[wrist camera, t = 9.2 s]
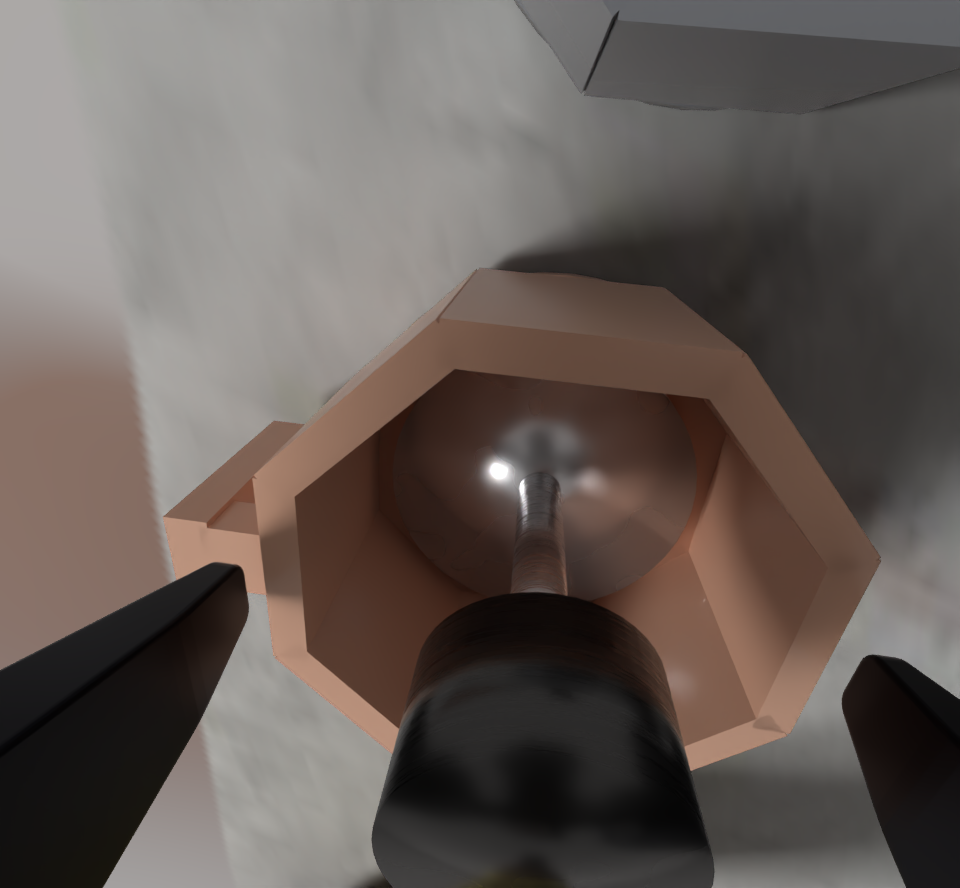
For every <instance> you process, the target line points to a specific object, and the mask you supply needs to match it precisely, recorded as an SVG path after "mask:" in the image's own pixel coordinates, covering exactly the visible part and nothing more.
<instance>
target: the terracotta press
mask: <svg viewBox="0 0 960 888" xmlns="http://www.w3.org/2000/svg"><path fill="white" fill-rule="evenodd" d="M454 369H458V370H467V371H475V372H484V373H493V374H501V375H510V376H518V377H527V378H535V379H544V380H552V381H561V382H569V383H578V384H586V385H595V386H603V387H612V388H621V389H629V390H638V391H646V392H655V393H663V394H666V395H667V396H668V397H669V399H670V400H671V402H672V404H673V405H674V407H675V409H676V410H677V412H678V413H679V415H680V417H681V418H682V420H683V422H684V424H685V426H686V429H687V431H688V433H689V436H690V438H691V441H692V445H693V449H694V453H695V457H696V468H697V484H696V495H695V499H694V503H693V508H692V511H691V514H690V516H689V519H688V521H687V524H686V526H685V528H684V530H683V532H682V533H681V535H680V537H679V539H678V540H677V542H676V543H675V545H674V546H673V547H672V549H671V550H670V551H669V552H668V554H667V555H666V556H665V557H664V558H663V559H662V560H661V561H660V562H659V563H658V564H657V565H656V566H655V567H654V568H653V569H652V570H650V571H649V572H648V573H646V574H645V575H644V576H642V577H641V578H640V579H638V580H637V581H635V582H633V583H632V584H630V585H628V586H627V587H625V588H623V589H621V590H618V591H616V592H614V593H612V594H610V595H607V596H604V597H601V598H598V599H595V600H592V601H589V602H592V603H595V604H597V605H599V606H602V607H604V608H606V609H609V610H610V611H612V612H614V613H616V614H617V615H619V616H621V617H623V618H624V619H625V620H627V621H628V622H630V623H631V624H632V625H634V626H635V627H636V628H637V629H638V630H639V631H640V632H641V633H642V634H643V635H644V636H645V637H646V638H647V639H648V640H649V641H650V643H651V644H652V645H653V647H654V648H655V649H656V651H657V653H658V655H659V657H660V659H661V660H662V663H663V666H664V669H665V672H666V676H667V680H668V684H669V688H670V692H671V696H672V700H673V704H674V708H675V711H676V715H677V719H678V723H679V727H680V731H681V735H682V739H683V743H684V747H685V751H686V755H687V759H688V763H689V766H690V770H691V771H692V770H694V769H697V768H700V767H703V766H705V765H708V764H711V763H714V762H716V761H719V760H722V759H725V758H728V757H730V756H733V755H736V754H739V753H741V752H744V751H747V750H750V749H752V748H755V747H758V746H761V745H763V744H766V743H769V742H772V741H774V740H777V739H780V738H783V737H785V736H787V734H790V733H791V731H792V729H793V727H794V725H795V723H796V721H797V720H798V718H799V716H800V714H801V712H802V710H803V708H804V706H805V704H806V702H807V701H808V699H809V697H810V695H811V693H812V691H813V689H814V687H815V685H816V684H817V682H818V680H819V678H820V676H821V674H822V672H823V670H824V668H825V666H826V665H827V663H828V661H829V659H830V657H831V655H832V653H833V651H834V649H835V648H836V646H837V644H838V642H839V640H840V638H841V636H842V634H843V632H844V631H845V629H846V627H847V625H848V623H849V621H850V619H851V617H852V615H853V613H854V612H855V610H856V608H857V606H858V604H859V602H860V600H861V598H862V596H863V595H864V593H865V591H866V589H867V587H868V585H869V583H870V581H871V579H872V577H873V576H874V574H875V572H876V570H877V568H878V566H879V564H880V562H881V561H880V559H879V558H881V557H880V555H879V554H878V552H877V551H876V549H875V548H874V546H873V545H872V543H871V542H870V540H869V539H868V537H867V536H866V534H865V533H864V531H863V530H862V528H861V527H860V525H859V523H858V522H857V520H856V519H855V517H854V516H853V514H852V513H851V511H850V510H849V508H848V507H847V505H846V504H845V502H844V501H843V499H842V498H841V496H840V495H839V493H838V491H837V490H836V488H835V487H834V485H833V484H832V482H831V481H830V479H829V478H828V476H827V475H826V473H825V472H824V470H823V469H822V467H821V466H820V464H819V463H818V461H817V459H816V458H815V456H814V455H813V453H812V452H811V450H810V449H809V447H808V446H807V444H806V443H805V441H804V440H803V438H802V437H801V435H800V434H799V432H798V431H797V429H796V427H795V426H794V424H793V423H792V421H791V420H790V418H789V417H788V415H787V414H786V412H785V411H784V409H783V408H782V406H781V405H780V403H779V402H778V400H777V399H776V397H775V396H774V394H773V392H772V391H771V389H770V388H769V386H768V385H767V383H766V382H765V380H764V379H763V377H762V376H761V374H760V373H759V371H758V370H757V368H756V367H755V365H754V364H753V362H752V360H751V359H750V357H749V356H748V354H746V353H745V352H744V351H743V350H741V349H740V348H739V347H738V346H736V345H735V344H734V343H733V342H732V341H730V340H729V339H728V338H727V337H725V336H724V335H723V334H722V333H720V332H719V331H718V330H717V329H715V328H714V327H713V326H712V325H710V324H709V323H708V322H707V321H706V320H704V319H703V318H702V317H701V316H699V315H698V314H697V313H696V312H694V311H693V310H692V309H691V308H689V307H688V306H687V305H686V304H684V303H683V302H682V301H681V300H680V299H678V298H677V297H676V296H675V295H673V294H672V293H671V292H670V291H668V290H667V289H665V288H664V287H655V286H646V285H636V284H627V283H618V282H608V281H605V280H602V279H599V278H595V277H589V276H583V275H578V274H572V273H555V272H536V273H523V272H514V271H504V270H495V269H485V268H479V269H478V270H477V269H476V270H475V271H474V272H472V273H471V274H470V275H469V276H468V277H467V278H466V279H464V280H463V281H462V282H461V283H460V284H459V285H458V286H456V287H455V288H454V289H453V290H452V291H451V292H449V293H448V294H447V295H446V296H445V297H444V298H443V299H441V300H440V301H439V302H438V303H437V304H436V305H435V306H433V307H432V308H431V309H430V310H429V311H428V312H426V313H425V314H424V315H422V316H421V317H420V318H418V319H417V320H416V321H415V322H414V323H413V324H412V325H411V326H410V327H409V328H408V329H407V330H406V331H405V332H404V333H402V334H401V335H400V336H399V337H398V338H397V339H395V340H394V341H393V342H392V343H391V344H390V345H389V346H387V347H386V348H385V349H384V350H383V351H382V352H381V353H379V354H378V355H377V356H376V357H375V358H374V359H372V360H371V361H370V362H369V363H368V364H367V365H366V366H364V367H363V368H362V369H361V370H360V371H359V372H358V373H356V374H355V375H354V376H353V377H352V378H351V379H350V380H349V381H348V382H347V383H346V384H345V385H344V386H343V387H342V388H341V389H340V390H339V391H338V392H337V393H336V394H335V395H334V396H333V397H332V398H331V399H330V400H329V401H328V402H327V403H326V404H325V405H324V406H323V407H322V408H321V409H320V410H319V411H318V412H317V413H316V414H315V415H314V416H313V417H312V418H311V419H310V420H309V421H308V422H307V423H306V424H305V425H304V424H296V423H288V422H280V421H273V422H272V423H271V424H270V425H269V426H267V427H266V428H265V429H264V430H263V431H262V432H260V433H259V434H258V435H257V436H256V437H255V438H254V439H252V440H251V441H250V442H249V443H248V444H247V445H245V446H244V447H243V448H242V449H241V450H240V451H239V452H237V453H236V454H235V455H234V456H233V457H232V458H230V459H229V460H228V461H227V462H226V463H225V464H223V465H222V466H221V467H220V468H219V469H218V470H217V471H215V472H214V473H213V474H212V475H211V476H210V477H208V478H207V479H206V480H205V481H204V482H203V483H202V484H200V485H199V486H198V487H197V488H196V489H195V490H193V491H192V492H191V493H190V494H189V495H188V496H186V497H185V498H184V499H183V500H182V501H181V502H180V503H178V504H177V505H176V506H175V507H174V508H173V509H171V510H170V511H169V512H168V513H167V514H166V515H165V516H163V519H164V524H165V529H166V533H167V538H168V543H169V548H170V552H171V557H172V562H173V566H174V571H175V576H176V580H178V579H180V578H182V577H184V576H186V575H187V574H189V573H191V572H193V571H195V570H197V569H199V568H201V567H203V566H205V565H207V564H209V563H212V562H223V563H230V564H237V565H239V566H241V567H242V569H243V571H244V575H245V582H246V589H247V592H249V593H256V594H263V595H266V597H267V605H268V614H269V622H270V631H271V639H272V647H273V656H276V657H275V659H277V660H278V661H279V662H280V663H282V664H283V665H284V666H285V667H286V668H288V669H289V670H290V671H291V672H293V673H294V674H295V675H296V676H297V677H299V678H300V679H301V680H302V681H304V682H305V683H306V684H307V685H308V686H310V687H311V688H312V689H313V690H315V691H316V692H317V693H318V694H319V695H321V696H322V697H323V698H324V699H326V700H327V701H328V702H329V703H330V704H332V705H333V706H334V707H335V708H337V709H338V710H339V711H340V712H341V713H343V714H344V715H345V716H346V717H348V718H349V719H350V720H351V721H352V722H354V723H355V724H356V725H357V726H359V727H360V728H361V729H362V730H363V731H365V732H366V733H367V734H368V735H370V736H371V737H372V738H373V739H374V740H376V741H377V742H378V743H379V744H381V745H382V746H383V747H384V748H385V749H387V750H388V751H389V752H390V753H392V754H393V750H394V746H395V742H396V739H397V735H398V731H399V727H400V723H401V720H402V716H403V712H404V708H405V705H406V701H407V697H408V693H409V690H410V686H411V682H412V678H413V674H414V671H415V667H416V663H417V659H418V656H419V653H420V650H421V648H422V646H423V644H424V642H425V641H426V639H427V637H428V636H429V635H430V634H431V632H432V631H433V630H434V629H435V627H436V626H438V625H439V624H440V623H441V622H442V621H443V620H444V619H445V618H447V617H448V616H450V615H451V614H453V613H454V612H456V611H457V610H459V609H461V608H463V607H465V606H467V605H469V604H471V603H474V602H477V601H480V600H483V599H485V598H489V597H488V596H486V595H483V594H481V593H478V592H476V591H474V590H471V589H470V588H468V587H466V586H464V585H462V584H460V583H459V582H457V581H455V580H454V579H453V578H451V577H450V576H448V575H447V574H445V573H444V572H443V571H442V570H440V569H439V568H438V567H437V566H436V565H435V564H434V563H432V562H431V561H430V560H429V559H428V557H427V556H426V555H425V554H424V553H423V552H422V551H421V550H420V548H419V547H418V546H417V544H416V543H415V541H414V540H413V538H412V537H411V536H410V534H409V532H408V530H407V528H406V526H405V524H404V522H403V520H402V518H401V515H400V512H399V509H398V506H397V503H396V498H395V493H394V487H393V462H394V453H395V449H396V445H397V441H398V437H399V435H400V433H401V430H402V428H403V425H404V423H405V421H406V419H407V417H408V416H409V414H410V412H411V411H412V409H413V407H414V406H415V404H416V402H417V401H418V399H419V397H420V396H422V395H423V394H424V393H425V392H427V391H428V390H429V389H430V388H432V387H433V386H434V385H435V384H437V383H438V382H439V381H440V380H442V379H443V378H444V377H445V376H447V375H448V374H449V373H450V372H452V371H453V370H454ZM786 733H787V734H786Z"/></svg>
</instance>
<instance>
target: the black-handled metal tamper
mask: <svg viewBox="0 0 960 888" xmlns="http://www.w3.org/2000/svg"><path fill="white" fill-rule="evenodd" d="M696 484H697V468H696V457H695V453H694V449H693V445H692V441H691V438H690V436H689V433H688V431H687V429H686V426H685V424H684V422H683V420H682V418H681V417H680V415H679V413H678V412H677V410H676V409H675V407H674V405H673V404H672V402H671V400H670V399H669V397H668V396H667V395H666V394H663V393H655V392H646V391H638V390H629V389H621V388H612V387H603V386H595V385H586V384H578V383H569V382H561V381H552V380H544V379H535V378H527V377H518V376H510V375H501V374H493V373H484V372H475V371H467V370H458V369H454V370H453V371H452V372H450V373H449V374H448V375H447V376H445V377H444V378H443V379H442V380H440V381H439V382H438V383H437V384H435V385H434V386H433V387H432V388H430V389H429V390H428V391H427V392H425V393H424V394H423V395H422V396H420V397H419V399H418V401H417V402H416V404H415V406H414V407H413V409H412V411H411V412H410V414H409V416H408V417H407V419H406V421H405V423H404V425H403V428H402V430H401V433H400V435H399V437H398V441H397V445H396V449H395V453H394V462H393V487H394V493H395V498H396V503H397V506H398V509H399V512H400V515H401V518H402V520H403V522H404V524H405V526H406V528H407V530H408V532H409V534H410V536H411V537H412V538H413V540H414V541H415V543H416V544H417V546H418V547H419V548H420V550H421V551H422V552H423V553H424V554H425V555H426V556H427V557H428V559H429V560H430V561H431V562H432V563H434V564H435V565H436V566H437V567H438V568H439V569H440V570H442V571H443V572H444V573H445V574H447V575H448V576H450V577H451V578H453V579H454V580H455V581H457V582H459V583H460V584H462V585H464V586H466V587H468V588H470V589H471V590H474V591H476V592H478V593H481V594H483V595H486V596H488V597H489V598H485V599H483V600H480V601H477V602H474V603H471V604H469V605H467V606H465V607H463V608H461V609H459V610H457V611H456V612H454V613H453V614H451V615H450V616H448V617H447V618H445V619H444V620H443V621H442V622H441V623H440V624H439V625H438V626H436V627H435V629H434V630H433V631H432V632H431V634H430V635H429V636H428V637H427V639H426V641H425V642H424V644H423V646H422V648H421V650H420V653H419V656H418V659H417V663H416V667H415V671H414V674H413V678H412V682H411V686H410V690H409V693H408V697H407V701H406V705H405V708H404V712H403V716H402V720H401V723H400V727H399V731H398V735H397V739H396V742H395V746H394V750H393V754H392V757H391V761H390V765H389V769H388V773H387V776H386V780H385V784H384V788H383V791H382V795H381V799H380V803H379V806H378V810H377V814H376V818H375V822H374V825H373V831H372V847H373V853H374V856H375V859H376V862H377V865H378V866H379V868H380V870H381V872H382V874H383V875H384V877H385V878H386V879H387V881H388V882H389V883H390V885H391V886H392V887H393V888H711V887H712V885H713V878H714V864H713V857H712V853H711V849H710V845H709V841H708V837H707V833H706V829H705V825H704V821H703V817H702V814H701V810H700V806H699V802H698V798H697V794H696V790H695V786H694V782H693V778H692V774H691V770H690V766H689V763H688V759H687V755H686V751H685V747H684V743H683V739H682V735H681V731H680V727H679V723H678V719H677V715H676V711H675V708H674V704H673V700H672V696H671V692H670V688H669V684H668V680H667V676H666V672H665V669H664V666H663V663H662V660H661V659H660V657H659V655H658V653H657V651H656V649H655V648H654V647H653V645H652V644H651V643H650V641H649V640H648V639H647V638H646V637H645V636H644V635H643V634H642V633H641V632H640V631H639V630H638V629H637V628H636V627H635V626H634V625H632V624H631V623H630V622H628V621H627V620H625V619H624V618H623V617H621V616H619V615H617V614H616V613H614V612H612V611H610V610H609V609H606V608H604V607H602V606H599V605H597V604H595V603H592V602H589V601H592V600H595V599H598V598H601V597H604V596H607V595H610V594H612V593H614V592H616V591H618V590H621V589H623V588H625V587H627V586H628V585H630V584H632V583H633V582H635V581H637V580H638V579H640V578H641V577H642V576H644V575H645V574H646V573H648V572H649V571H650V570H652V569H653V568H654V567H655V566H656V565H657V564H658V563H659V562H660V561H661V560H662V559H663V558H664V557H665V556H666V555H667V554H668V552H669V551H670V550H671V549H672V547H673V546H674V545H675V543H676V542H677V540H678V539H679V537H680V535H681V533H682V532H683V530H684V528H685V526H686V524H687V521H688V519H689V516H690V514H691V511H692V508H693V503H694V499H695V495H696Z"/></svg>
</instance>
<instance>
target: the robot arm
mask: <svg viewBox="0 0 960 888" xmlns="http://www.w3.org/2000/svg"><path fill="white" fill-rule="evenodd" d="M248 612H249V603H248V596H247V589H246V582H245V575H244V571H243V569H242V567H241V566H239V565H237V564H230V563H223V562H212V563H209V564H207V565H205V566H203V567H201V568H199V569H197V570H195V571H193V572H191V573H189V574H187V575H186V576H184V577H182V578H180V579H178V580H176V581H174V582H172V583H170V584H168V585H166V586H164V587H162V588H160V589H158V590H156V591H154V592H152V593H150V594H148V595H146V596H144V597H142V598H140V599H139V600H137V601H135V602H133V603H131V604H129V605H127V606H125V607H123V608H121V609H119V610H117V611H115V612H113V613H111V614H109V615H107V616H105V617H103V618H102V619H99V620H97V621H95V622H93V623H92V624H90V625H88V626H86V627H84V628H82V629H80V630H78V631H76V632H74V633H72V634H70V635H68V636H66V637H65V638H62V639H60V640H58V641H56V642H55V643H52V644H50V645H48V646H46V647H45V648H43V649H41V650H39V651H37V652H35V653H33V654H31V655H29V656H27V657H25V658H23V659H21V660H19V661H17V662H15V663H13V664H11V665H9V666H7V667H5V668H3V669H1V670H0V888H103V886H104V885H105V883H106V881H107V879H108V878H109V876H110V874H111V873H112V871H113V869H114V868H115V866H116V864H117V863H118V861H119V859H120V857H121V856H122V854H123V852H124V851H125V849H126V847H127V845H128V844H129V842H130V840H131V839H132V836H133V835H134V833H135V832H136V830H137V828H138V827H139V825H140V823H141V822H142V820H143V818H144V817H145V815H146V813H147V811H148V810H149V808H150V806H151V804H152V803H153V801H154V799H155V798H156V796H157V794H158V793H159V791H160V789H161V788H162V786H163V784H164V782H165V781H166V779H167V777H168V775H169V774H170V772H171V770H172V769H173V767H174V765H175V764H176V762H177V760H178V758H179V757H180V755H181V753H182V752H183V750H184V748H185V746H186V745H187V743H188V741H189V740H190V738H191V736H192V734H193V733H194V731H195V729H196V727H197V725H198V724H199V722H200V720H201V718H202V716H203V714H204V712H205V710H206V708H207V706H208V704H209V702H210V699H211V697H212V695H213V693H214V691H215V689H216V686H217V684H218V682H219V680H220V678H221V676H222V673H223V671H224V669H225V667H226V665H227V662H228V660H229V658H230V656H231V654H232V652H233V649H234V647H235V645H236V643H237V641H238V639H239V636H240V634H241V632H242V630H243V628H244V626H245V623H246V621H247V617H248ZM842 709H843V714H844V717H845V720H846V723H847V726H848V729H849V732H850V735H851V738H852V741H853V744H854V747H855V750H856V753H857V757H858V760H859V763H860V766H861V769H862V772H863V775H864V778H865V781H866V784H867V787H868V790H869V793H870V796H871V800H872V803H873V806H874V809H875V812H876V814H877V817H878V820H879V823H880V826H881V828H882V831H883V834H884V836H885V838H886V841H887V843H888V846H889V848H890V851H891V853H892V856H893V858H894V860H895V863H896V865H897V867H898V870H899V872H900V874H901V877H902V879H903V881H904V884H905V886H906V888H960V699H958V698H957V697H955V696H954V695H953V694H951V693H950V692H948V691H947V690H945V689H944V688H943V687H941V686H940V685H938V684H937V683H936V682H934V681H933V680H931V679H930V678H929V677H927V676H926V675H924V674H923V673H921V672H920V671H919V670H917V669H916V668H914V667H913V666H912V665H910V664H909V663H907V662H906V661H904V660H902V659H899V658H895V657H888V656H881V655H868V656H866V657H865V658H863V659H862V661H861V662H860V664H859V666H858V667H857V669H856V671H855V673H854V674H853V676H852V678H851V680H850V682H849V683H848V685H847V687H846V689H845V690H844V693H843V696H842Z"/></svg>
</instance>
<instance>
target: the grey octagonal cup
mask: <svg viewBox="0 0 960 888" xmlns="http://www.w3.org/2000/svg"><path fill="white" fill-rule="evenodd" d="M514 1H515V3H516V4H517V6H518V7H519V9H520V10H521V11H522V13H523V14H524V15H525V17H526V18H527V19H528V21H529V22H530V23H531V25H532V26H533V27H534V29H535V30H536V31H537V33H538V34H539V35H540V36H541V37H542V38H543V39H544V40H545V41H546V42H547V43H548V44H549V46H550V47H551V49H552V50H553V52H554V53H555V55H556V56H557V58H558V59H559V61H560V62H561V64H562V66H563V67H564V69H565V70H566V72H567V73H568V75H569V76H570V78H571V79H572V81H573V82H574V84H575V85H576V87H577V88H578V90H579V92H580V93H583V92H584V91H585V92H584V96H592V97H604V98H616V99H627V100H638V101H641V102H644V103H647V104H650V105H656V106H662V107H668V108H674V109H680V110H721V109H728V108H732V109H743V110H755V111H766V112H778V113H790V114H803V113H807V112H810V111H814V110H817V109H820V108H824V107H827V106H831V105H834V104H838V103H841V102H845V101H848V100H852V99H855V98H859V97H862V96H866V95H869V94H872V93H876V92H879V91H883V90H886V89H890V88H893V87H897V86H900V85H904V84H907V83H911V82H914V81H918V80H921V79H924V78H928V77H931V76H935V75H938V74H942V73H945V72H949V71H952V70H956V69H959V68H960V0H514Z"/></svg>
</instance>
